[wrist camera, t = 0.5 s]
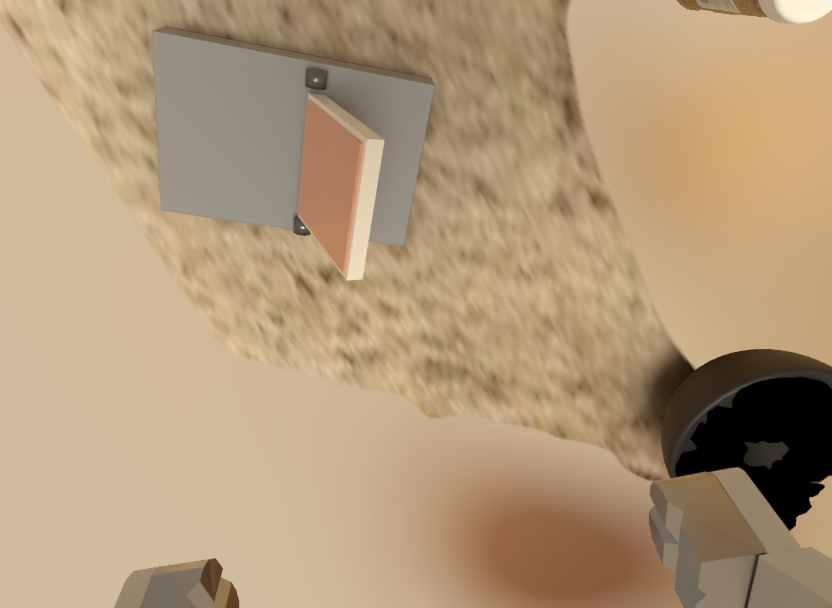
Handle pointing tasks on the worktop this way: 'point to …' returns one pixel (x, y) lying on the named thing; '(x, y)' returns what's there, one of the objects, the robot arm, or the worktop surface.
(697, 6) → the sprinkles bottle
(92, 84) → the worktop surface
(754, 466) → the coal bowl
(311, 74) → the stand
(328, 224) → the tile
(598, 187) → the worktop surface
